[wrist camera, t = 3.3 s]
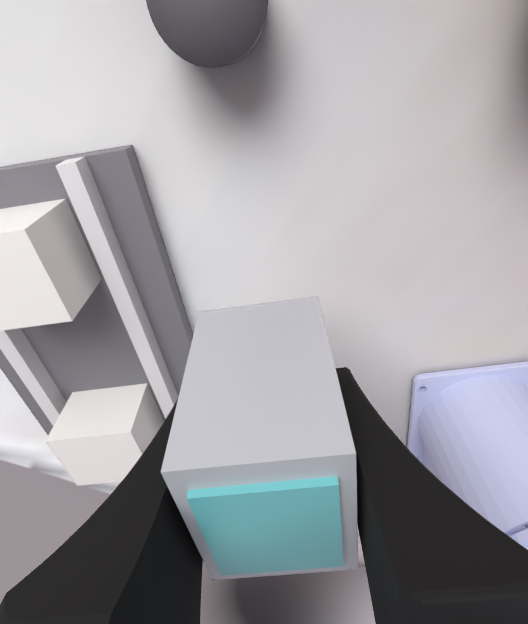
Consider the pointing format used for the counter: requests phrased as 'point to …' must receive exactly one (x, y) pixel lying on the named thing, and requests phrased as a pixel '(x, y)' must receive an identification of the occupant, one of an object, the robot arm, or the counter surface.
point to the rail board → (89, 309)
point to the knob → (209, 28)
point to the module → (264, 444)
